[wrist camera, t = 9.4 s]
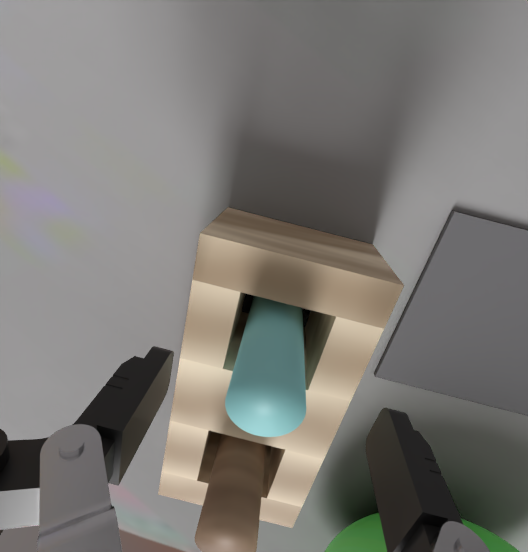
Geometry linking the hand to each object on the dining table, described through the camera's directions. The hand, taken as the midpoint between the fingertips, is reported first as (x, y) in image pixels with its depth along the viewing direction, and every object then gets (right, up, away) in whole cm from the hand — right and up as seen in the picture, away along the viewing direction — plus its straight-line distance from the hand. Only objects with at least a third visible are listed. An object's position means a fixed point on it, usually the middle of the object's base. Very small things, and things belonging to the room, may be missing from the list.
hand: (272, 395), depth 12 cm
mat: (+15, +1, +8) cm, 17 cm away
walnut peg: (-1, -5, +13) cm, 13 cm away
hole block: (0, -1, +11) cm, 11 cm away
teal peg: (+1, +3, +9) cm, 10 cm away
